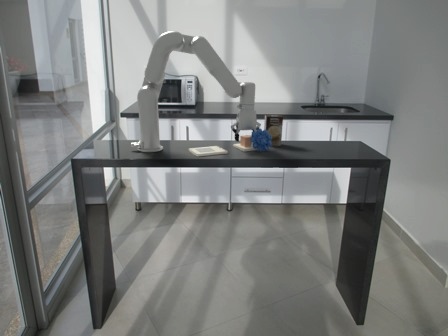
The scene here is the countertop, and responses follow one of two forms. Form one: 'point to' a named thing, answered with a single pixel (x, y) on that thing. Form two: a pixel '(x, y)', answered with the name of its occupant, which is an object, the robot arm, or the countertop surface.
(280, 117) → the coffee box
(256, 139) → the grapes
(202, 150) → the cream panel with window
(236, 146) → the stub
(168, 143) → the countertop surface
